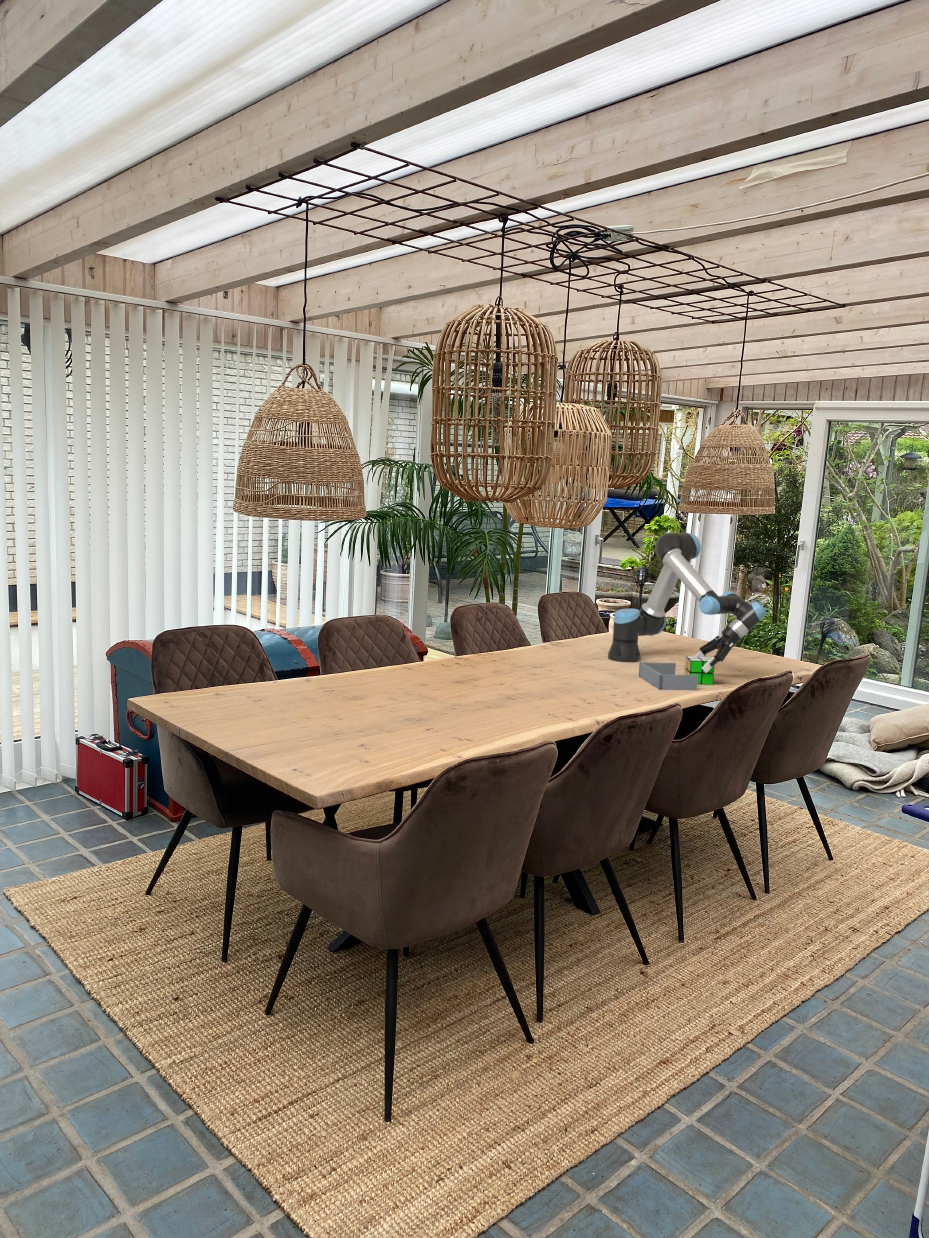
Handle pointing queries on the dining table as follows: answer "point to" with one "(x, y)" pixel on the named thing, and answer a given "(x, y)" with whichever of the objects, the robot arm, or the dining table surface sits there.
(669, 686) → the grey u-shaped wall
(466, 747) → the dining table surface
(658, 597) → the robot arm
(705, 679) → the puzzle cube
